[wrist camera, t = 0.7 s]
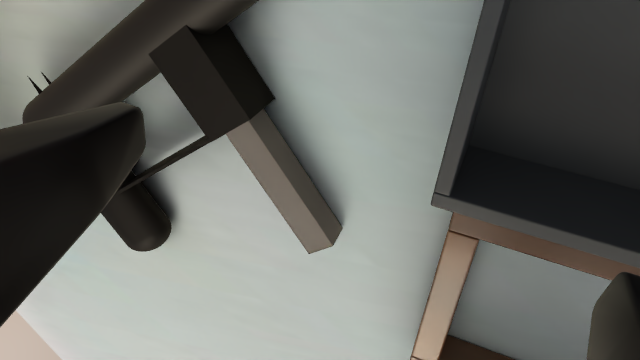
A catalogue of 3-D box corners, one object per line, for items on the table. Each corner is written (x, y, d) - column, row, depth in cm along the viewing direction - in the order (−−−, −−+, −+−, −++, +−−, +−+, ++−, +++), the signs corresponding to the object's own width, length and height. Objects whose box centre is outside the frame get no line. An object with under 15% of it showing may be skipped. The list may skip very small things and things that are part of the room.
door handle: (430, 221, 23) (222, -124, 19) (159, 310, 34) (-11, 103, 30) (441, 185, 26) (262, -125, 22) (187, 277, 36) (34, 83, 32)
